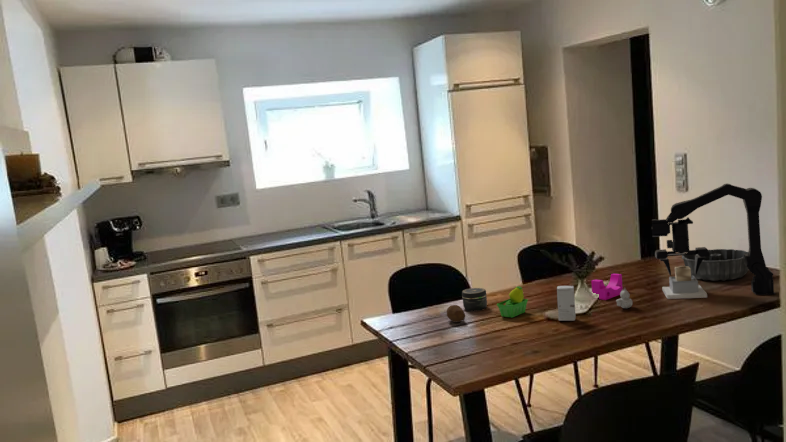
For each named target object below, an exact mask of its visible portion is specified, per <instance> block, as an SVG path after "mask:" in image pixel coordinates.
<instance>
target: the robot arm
mask: <svg viewBox="0 0 786 442" xmlns="http://www.w3.org/2000/svg"><path fill="white" fill-rule="evenodd" d="M726 196H730V197H731V196H732V197H735V198H738V199H741V200H742V202H743V205H744V208H745V212H746V221H747V223H746V224H747V235H748V236H747V238H748V239H747V240H748V250H747V252H748V254H745V253H744V257H745V262H744V264H745V265H746V267H747V268H748V271H749V272H750V273H751V274H753V276H752V280H750V287H751V288H750V289H751V292H752V293H754V295H756V296H760V295H761V296H762V295H764V296H765V295H768V296H769V295H776V292H775V288H774V287H775V286H774V272H772V270H771V269H770V268H768V267H767V264H766V260H765V257H764V254H763V252H762V242H761V226H760V225H761V224H760V210H761V206H762V200H763V199H762V198H763V194H762V193H761V191H760V190H758V189H756V188H755V187H748V188H743V187H741V186H737V185H732V184H730V183H724V184H722V185H721V186H718V187H716V188H714V189H711V190H710V191H708V192H705V193H703V194H701V195H699V196H697V197H694V198H691V199H687V200H682V201H680V202H676V203H674V204H672V205H671V208H670V213H669V214H668V215H667V216H666V218H665V219H664V218H663V219H651V235H652V238H656V237H657V238H658V237H668V235H670V234H671V235H672V239H666V248H667V249H671V250H667V249H666V248H665V249H656V250H655V251H654V256H655V259H657V260H660V262H663V264H664V265H665V267H666V270H667V272H668V275H669V277H672V271H671V265H670V259H669V258H668V257H675V256H676V257H677V256H678V257H679V256H682V255H695V274H697V272H698V269H699V266H700V264H701V262H702V260H703V259H706V257H707V256H709V250H710V249H708V248H707V247H706V246H702V247H698V246H697V247H695V249H690V239H689V238H690V237H689V225H693V224H694V222H693V220H691V218H690V217H689V215H691V214H692V213H693V212H694V211H696V210H697V209H699V208H701V207H704V206H706V205H708V204H711V203H712V202H715V201H716V200H719V199H721V198H724V197H726Z"/></svg>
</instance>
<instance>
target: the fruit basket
mask: <svg viewBox="0 0 786 442" xmlns="http://www.w3.org/2000/svg"><path fill="white" fill-rule="evenodd" d="M508 296H509V298H508V299H505V300H503V301H501V302H498V303H496V306H497V308H498V311H499V313H500V316H501V317H505V318H512V319H513V318H515V317H517V316H519V315H522V314H525V312H526V310H527V304H528V301H529V299H528V298H527V299H526V298H525V297H524V290H523V287H522V286H517V285H516V287H515V288H513V289H512V290H511V291H510V292H509V293H508Z"/></svg>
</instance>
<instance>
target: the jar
mask: <svg viewBox="0 0 786 442" xmlns="http://www.w3.org/2000/svg"><path fill="white" fill-rule="evenodd" d="M461 297H462V304H463V308H464V309H465V311H468V312H480V311H483V310H485V309H486V308H487V305H488V301H487V300H488V299H487V291H486V288H483V287H471V288H466V289H463V290H462V291H461Z"/></svg>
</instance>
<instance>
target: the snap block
mask: <svg viewBox="0 0 786 442" xmlns="http://www.w3.org/2000/svg"><path fill="white" fill-rule="evenodd" d="M674 275H675V276H674V277H675V279H676V281H691V269H690V267H689V266H685V265H678V266H674Z"/></svg>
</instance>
